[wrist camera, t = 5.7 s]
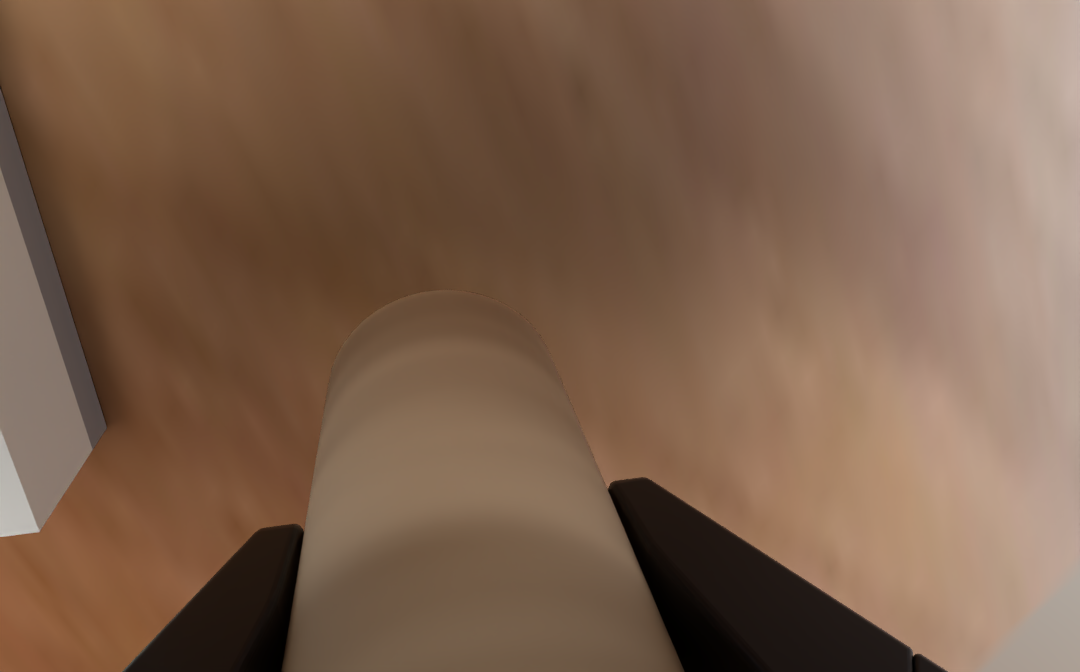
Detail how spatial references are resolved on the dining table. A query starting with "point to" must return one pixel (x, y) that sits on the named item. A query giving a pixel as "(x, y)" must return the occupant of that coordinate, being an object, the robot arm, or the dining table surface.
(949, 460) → the dining table surface
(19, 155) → the socket block
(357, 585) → the oak peg
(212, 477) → the dining table surface
